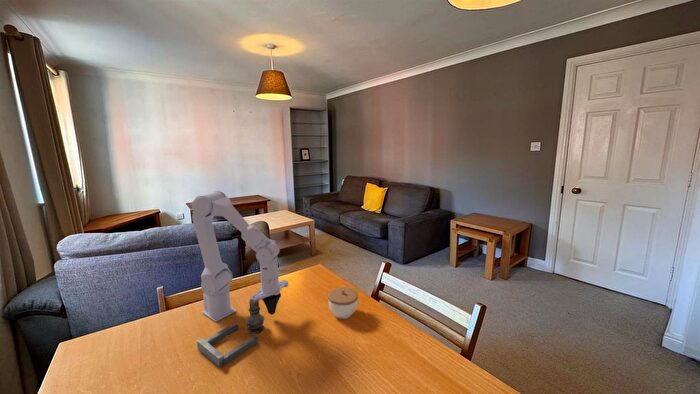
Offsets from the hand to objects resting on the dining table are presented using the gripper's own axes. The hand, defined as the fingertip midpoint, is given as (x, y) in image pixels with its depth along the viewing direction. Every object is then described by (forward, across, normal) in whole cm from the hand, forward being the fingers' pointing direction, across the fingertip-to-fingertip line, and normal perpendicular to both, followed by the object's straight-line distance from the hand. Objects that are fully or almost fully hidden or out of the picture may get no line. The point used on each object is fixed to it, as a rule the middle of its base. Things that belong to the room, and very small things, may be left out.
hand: (271, 313), depth 99 cm
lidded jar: (+3, +17, -18) cm, 25 cm away
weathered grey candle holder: (+3, -7, 0) cm, 7 cm away
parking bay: (+2, -16, 0) cm, 16 cm away
